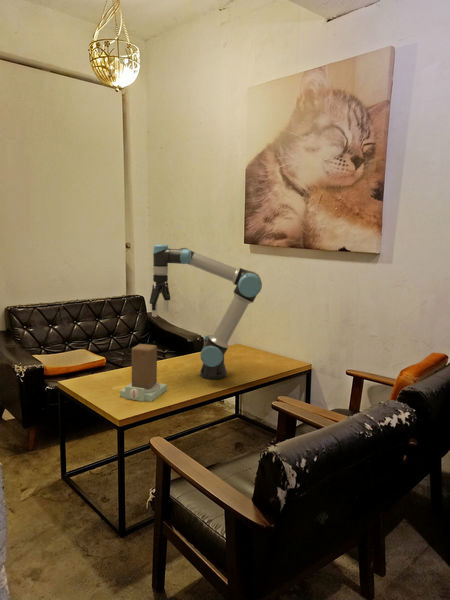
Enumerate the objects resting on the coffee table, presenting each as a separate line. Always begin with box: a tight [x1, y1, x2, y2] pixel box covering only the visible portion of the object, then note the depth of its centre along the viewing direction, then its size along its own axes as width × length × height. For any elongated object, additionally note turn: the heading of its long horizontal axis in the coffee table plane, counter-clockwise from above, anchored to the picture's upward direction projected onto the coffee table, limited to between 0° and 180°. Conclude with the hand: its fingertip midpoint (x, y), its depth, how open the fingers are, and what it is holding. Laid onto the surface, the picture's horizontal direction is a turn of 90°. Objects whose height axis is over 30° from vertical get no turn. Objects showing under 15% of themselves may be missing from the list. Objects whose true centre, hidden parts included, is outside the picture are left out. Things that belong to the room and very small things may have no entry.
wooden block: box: [131, 343, 158, 389], centre depth 226 cm, size 10×10×20 cm
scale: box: [119, 381, 168, 403], centre depth 226 cm, size 17×19×6 cm
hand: (160, 314), depth 241 cm, fingers open, 13 cm apart
